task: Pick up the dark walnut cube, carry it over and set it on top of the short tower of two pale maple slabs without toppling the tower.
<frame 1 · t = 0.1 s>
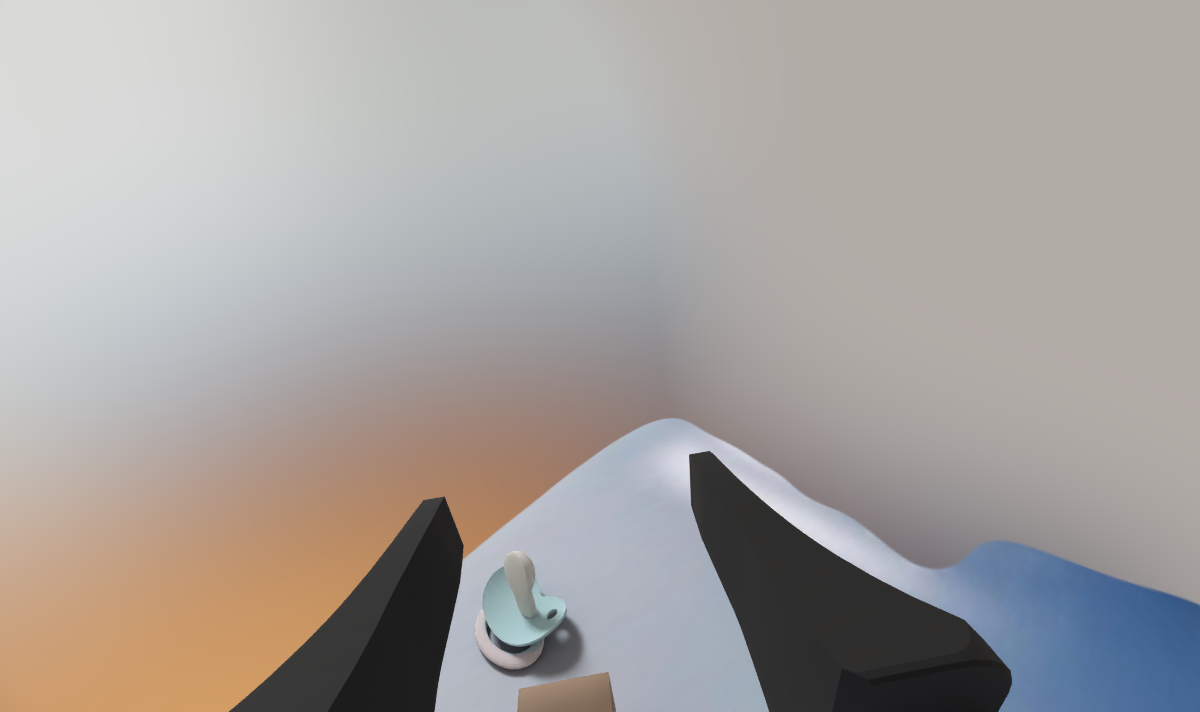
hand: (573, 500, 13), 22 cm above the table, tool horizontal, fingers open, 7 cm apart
pacifier: (519, 629, 33), on the table
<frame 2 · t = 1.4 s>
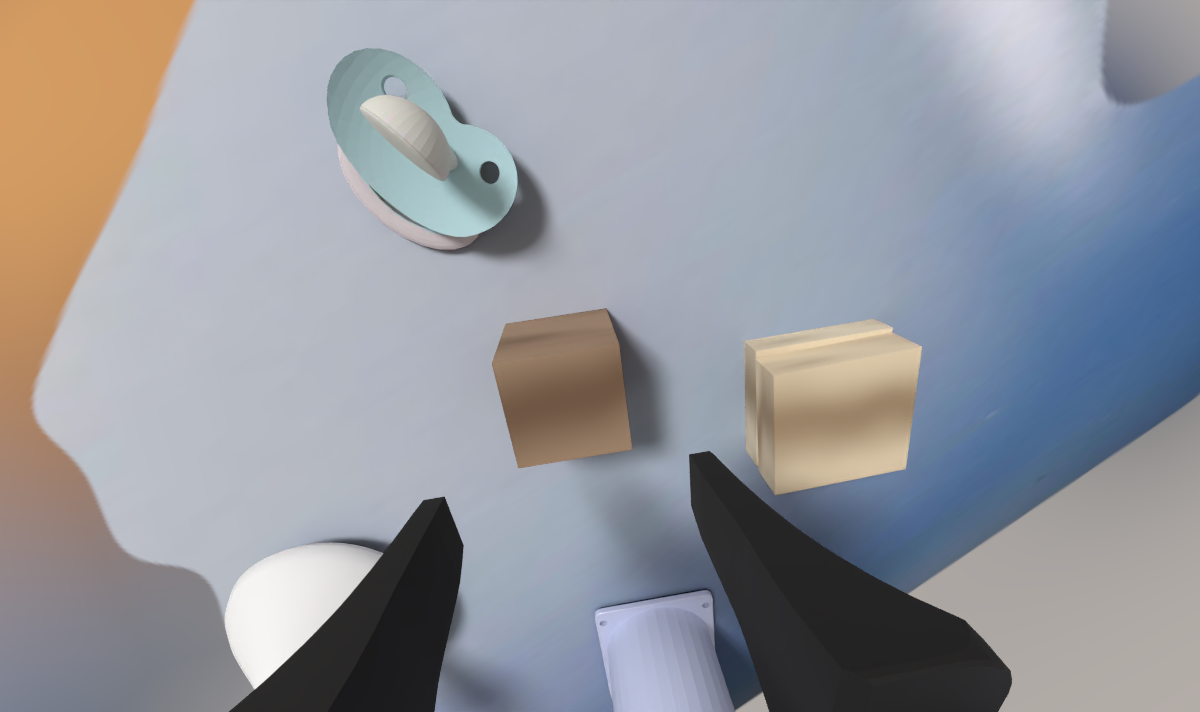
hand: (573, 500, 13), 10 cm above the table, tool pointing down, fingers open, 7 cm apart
flower in vase: (350, 600, 28), on the table
slab bottom: (801, 384, 25), on the table, touching slab top
pacifier: (429, 169, 19), on the table
slab top: (821, 405, 23), point 1 cm above the table, touching slab bottom
walnut cube: (564, 361, 23), on the table
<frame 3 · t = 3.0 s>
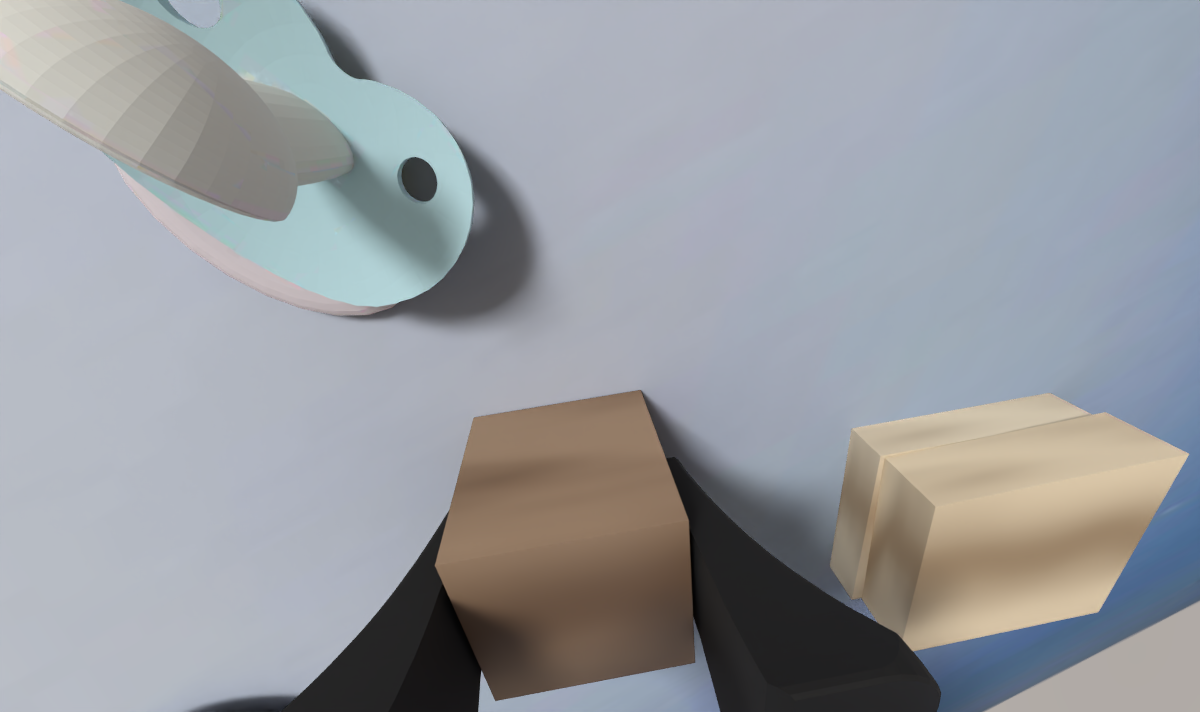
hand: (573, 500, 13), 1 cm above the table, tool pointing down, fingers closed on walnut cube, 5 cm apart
slab bottom: (918, 477, 17), on the table, touching slab top
pacifier: (308, 168, 10), on the table
slab top: (970, 515, 15), point 1 cm above the table, touching slab bottom
walnut cube: (570, 468, 14), on the table, touching gripper
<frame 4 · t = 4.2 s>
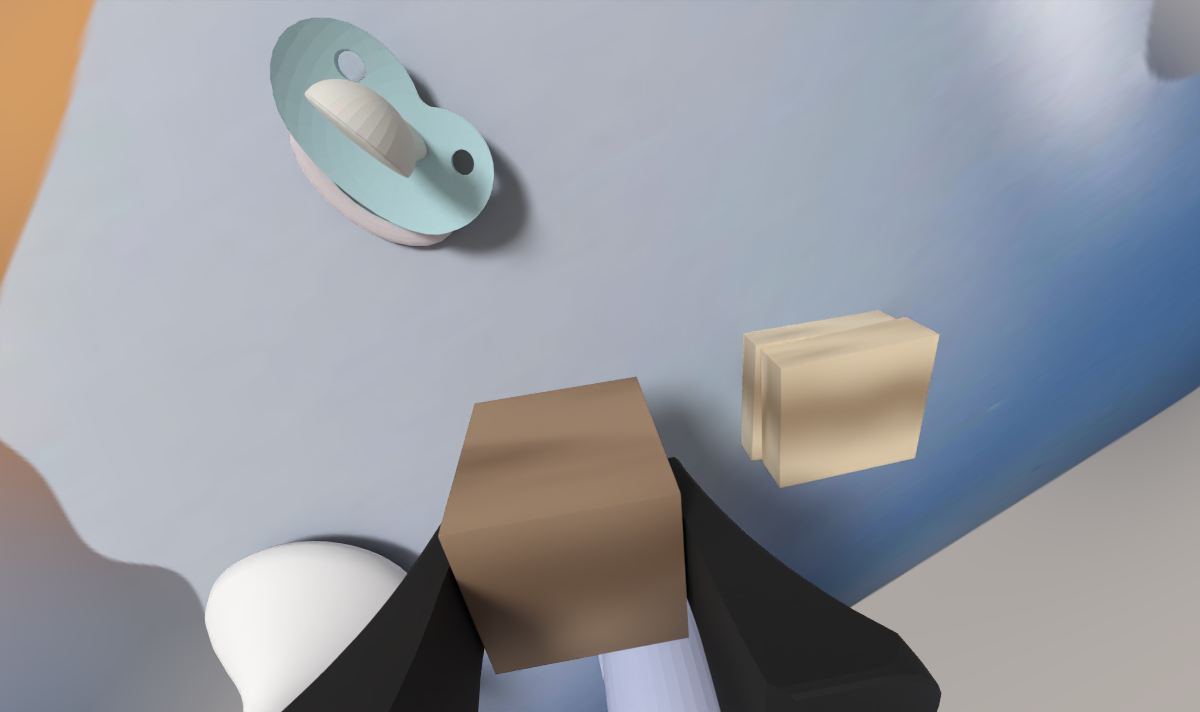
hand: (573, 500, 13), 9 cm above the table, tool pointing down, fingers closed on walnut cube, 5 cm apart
flower in vase: (337, 594, 27), on the table
slab bottom: (800, 376, 24), on the table, touching slab top
pacifier: (395, 156, 17), on the table
slab top: (828, 394, 22), point 1 cm above the table, touching slab bottom
walnut cube: (569, 454, 14), point 7 cm above the table, touching gripper
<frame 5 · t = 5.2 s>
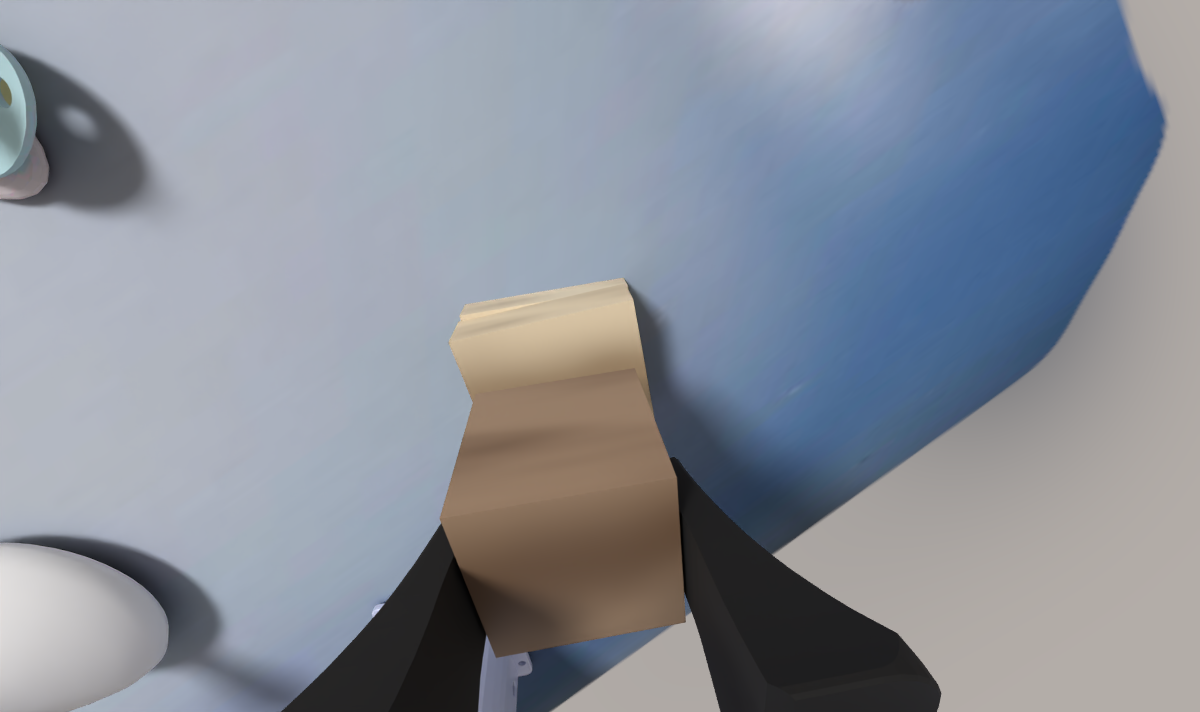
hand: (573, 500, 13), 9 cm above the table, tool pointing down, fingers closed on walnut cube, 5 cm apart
flower in vase: (76, 602, 24), on the table
slab bottom: (558, 354, 21), on the table
slab top: (562, 374, 20), point 1 cm above the table
walnut cube: (568, 444, 15), point 7 cm above the table, touching gripper
when the fingers open (7 cm above the table, at t = 6.0 s): walnut cube drops 1 cm, point 3 cm above the table.
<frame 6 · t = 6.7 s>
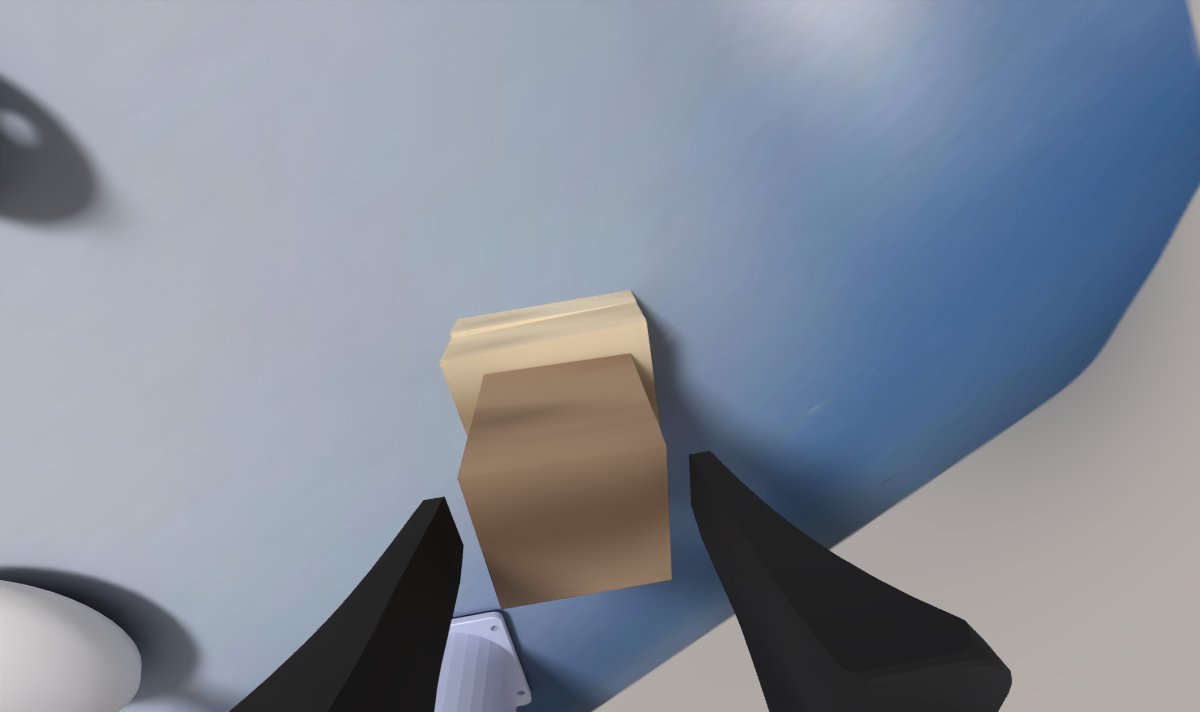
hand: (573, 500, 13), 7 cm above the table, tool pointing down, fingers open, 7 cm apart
flower in vase: (43, 634, 23), on the table
slab bottom: (559, 372, 20), on the table, touching slab top
slab top: (563, 397, 18), point 1 cm above the table, touching slab bottom
walnut cube: (567, 423, 16), point 3 cm above the table
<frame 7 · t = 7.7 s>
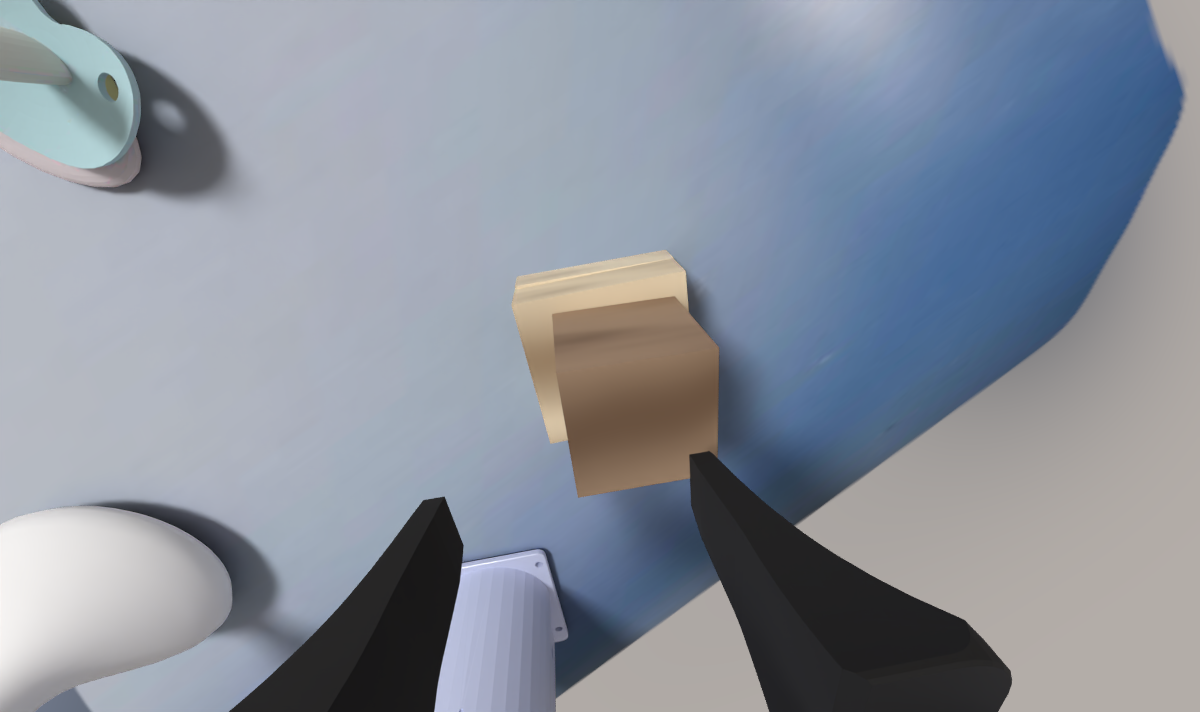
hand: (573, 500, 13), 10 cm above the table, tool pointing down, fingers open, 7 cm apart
flower in vase: (144, 566, 26), on the table
slab bottom: (601, 326, 22), on the table, touching slab top
pacifier: (61, 87, 16), on the table
slab top: (606, 344, 21), point 1 cm above the table, touching slab bottom, walnut cube
walnut cube: (619, 359, 19), point 3 cm above the table, touching slab top
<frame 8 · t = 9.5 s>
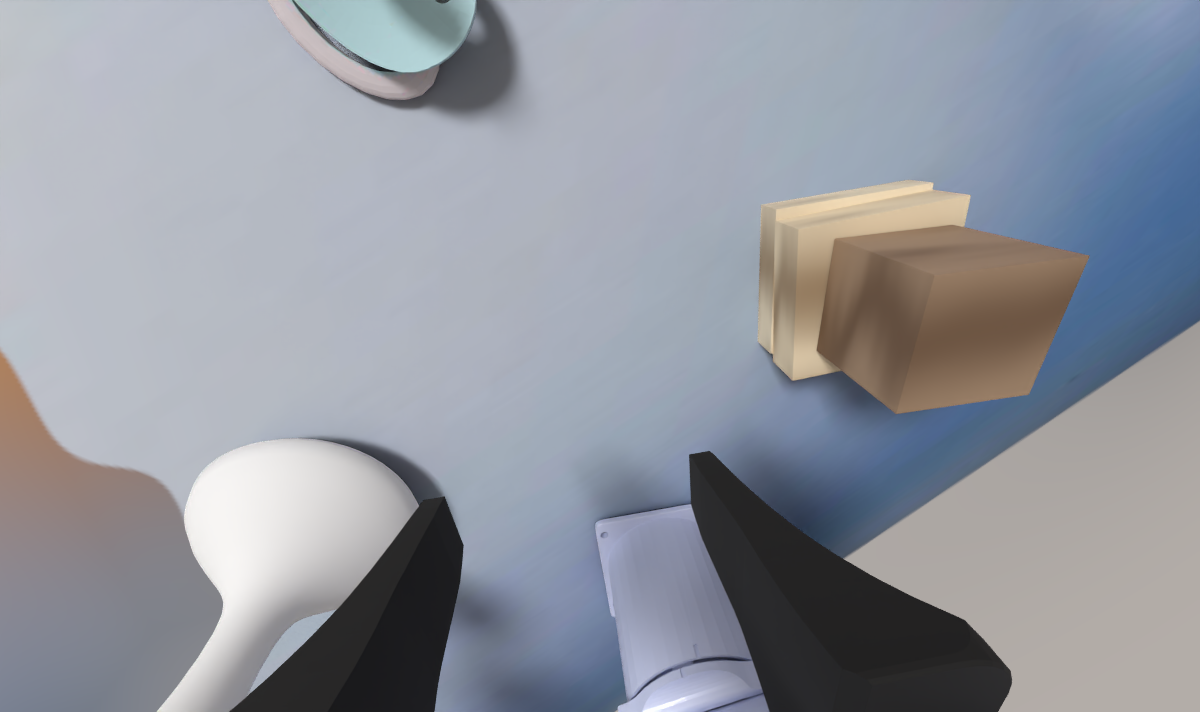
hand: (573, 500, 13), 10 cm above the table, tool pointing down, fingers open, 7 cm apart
flower in vase: (328, 510, 25), on the table
slab bottom: (822, 263, 22), on the table, touching slab top
slab top: (846, 281, 21), point 1 cm above the table, touching slab bottom
walnut cube: (880, 290, 19), point 3 cm above the table
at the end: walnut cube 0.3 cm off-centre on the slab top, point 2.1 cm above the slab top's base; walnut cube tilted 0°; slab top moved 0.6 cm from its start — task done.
